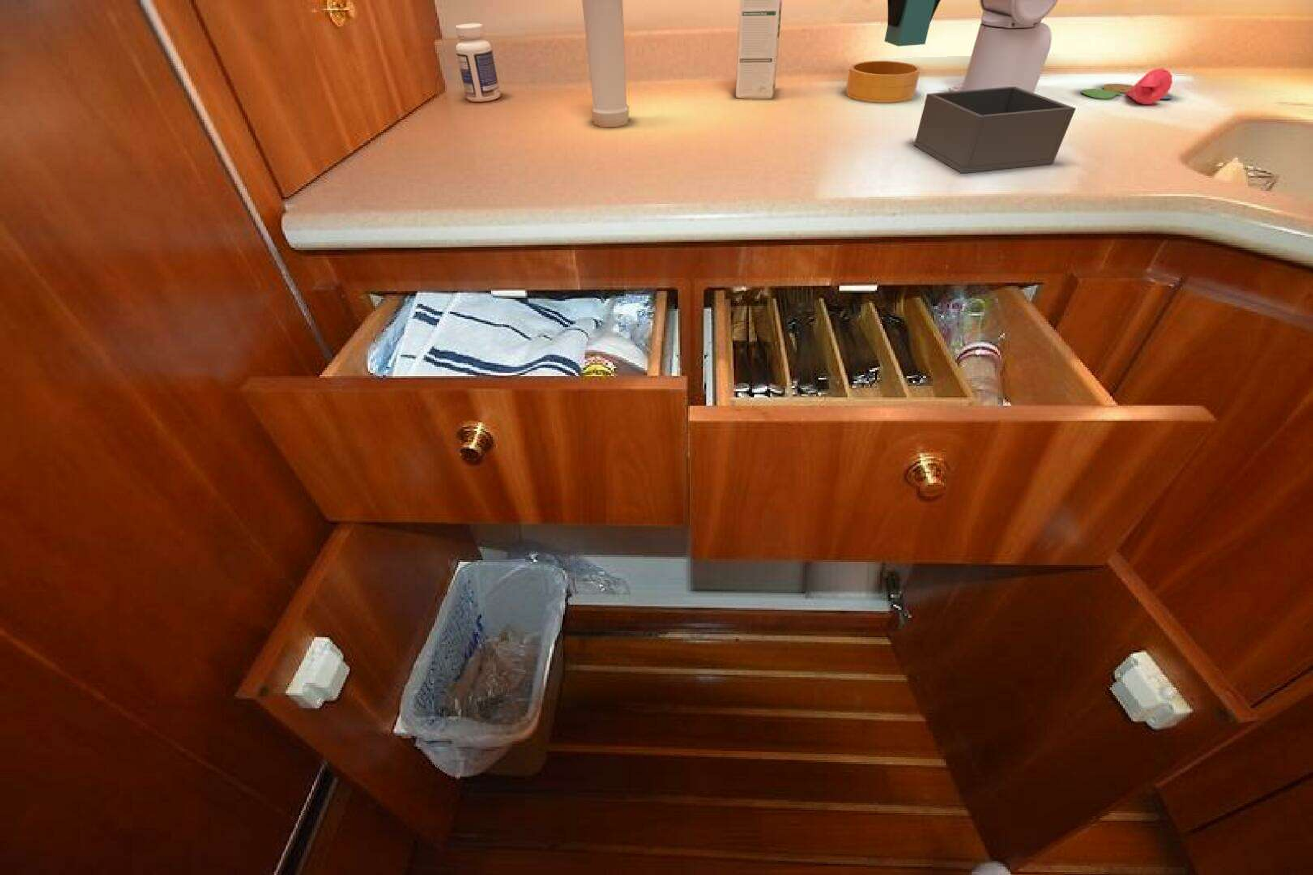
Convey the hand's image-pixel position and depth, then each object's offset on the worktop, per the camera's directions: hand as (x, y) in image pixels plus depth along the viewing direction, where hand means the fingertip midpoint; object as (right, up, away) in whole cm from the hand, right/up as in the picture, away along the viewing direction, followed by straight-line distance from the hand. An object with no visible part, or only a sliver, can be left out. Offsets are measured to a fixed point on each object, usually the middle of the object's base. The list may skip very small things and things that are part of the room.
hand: (908, 24), depth 80 cm
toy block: (0, -2, +1) cm, 2 cm away
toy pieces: (+34, -7, +5) cm, 35 cm away
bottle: (-41, -12, +2) cm, 43 cm away
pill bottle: (-62, -2, +15) cm, 64 cm away
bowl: (0, -4, +10) cm, 10 cm away
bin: (+3, -23, -12) cm, 26 cm away
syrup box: (-19, -3, +12) cm, 23 cm away
